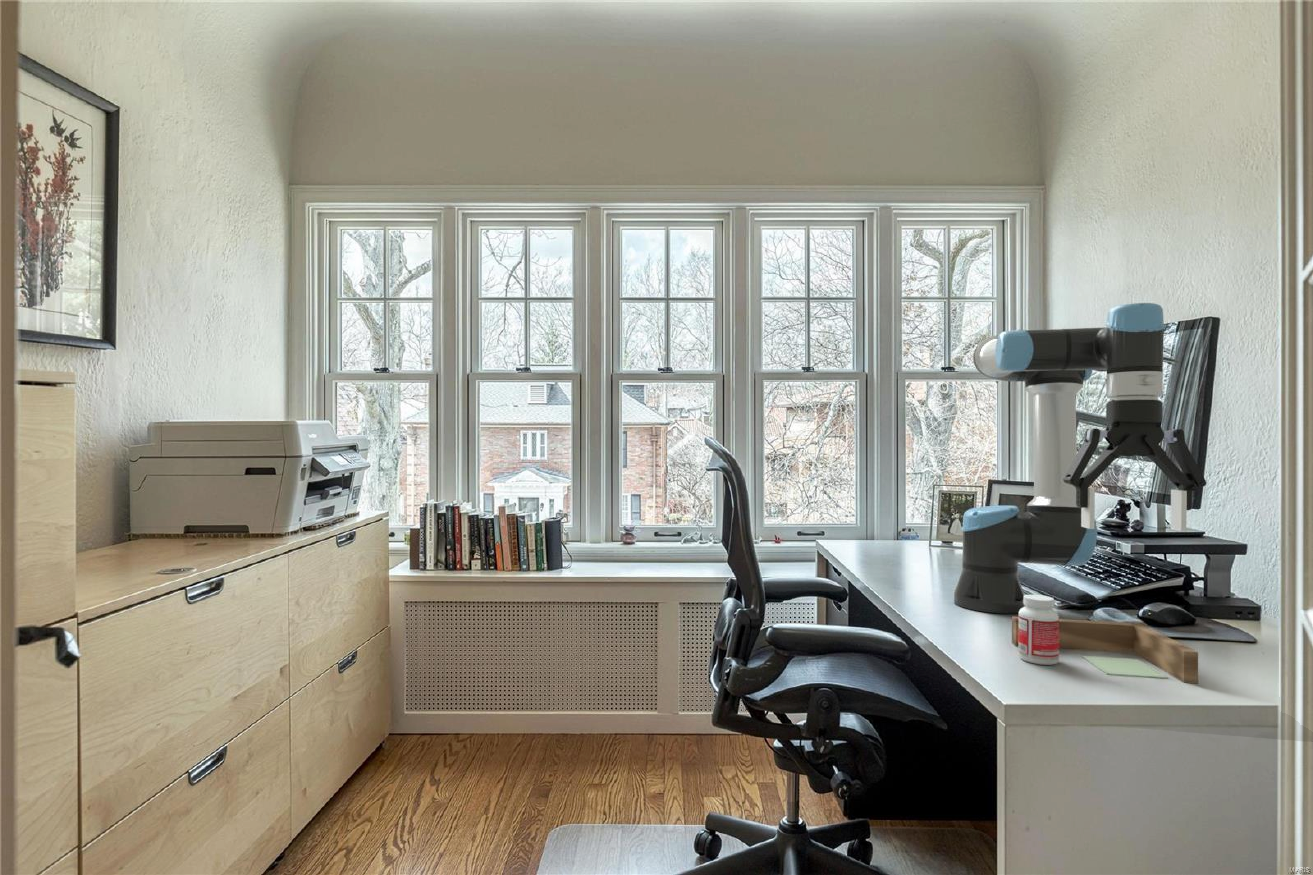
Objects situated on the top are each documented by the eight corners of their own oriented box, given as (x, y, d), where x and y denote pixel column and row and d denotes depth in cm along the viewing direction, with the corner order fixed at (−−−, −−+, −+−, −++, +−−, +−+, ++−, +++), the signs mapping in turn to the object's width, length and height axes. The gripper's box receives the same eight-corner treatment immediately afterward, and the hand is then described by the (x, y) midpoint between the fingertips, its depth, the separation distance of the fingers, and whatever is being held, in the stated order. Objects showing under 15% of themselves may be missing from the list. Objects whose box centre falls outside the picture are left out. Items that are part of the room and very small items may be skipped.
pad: (1081, 657, 118) (1082, 655, 118) (1137, 660, 117) (1137, 659, 117) (1107, 674, 109) (1107, 673, 109) (1167, 678, 108) (1167, 677, 108)
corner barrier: (1011, 642, 126) (1012, 616, 126) (1139, 650, 123) (1140, 623, 123) (1048, 673, 110) (1048, 643, 110) (1197, 683, 106) (1198, 652, 106)
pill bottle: (1065, 662, 115) (1066, 598, 115) (1047, 668, 112) (1048, 603, 112) (1029, 652, 121) (1029, 591, 121) (1011, 658, 117) (1011, 595, 117)
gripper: (1062, 398, 106) (1061, 529, 106) (1235, 398, 103) (1233, 534, 103) (1042, 400, 114) (1041, 523, 114) (1202, 400, 110) (1201, 528, 110)
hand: (1132, 529), depth 108 cm, fingers open, 13 cm apart
